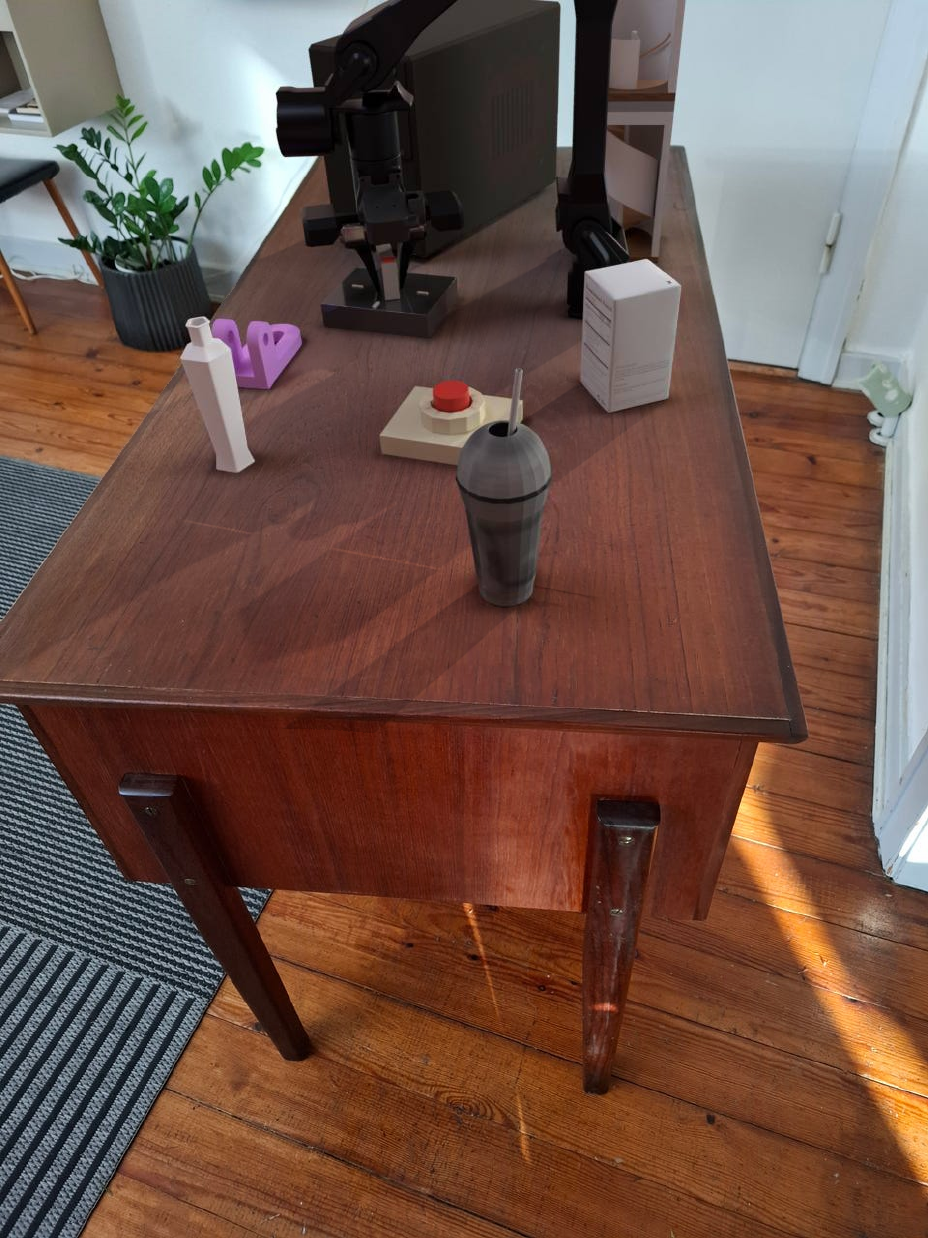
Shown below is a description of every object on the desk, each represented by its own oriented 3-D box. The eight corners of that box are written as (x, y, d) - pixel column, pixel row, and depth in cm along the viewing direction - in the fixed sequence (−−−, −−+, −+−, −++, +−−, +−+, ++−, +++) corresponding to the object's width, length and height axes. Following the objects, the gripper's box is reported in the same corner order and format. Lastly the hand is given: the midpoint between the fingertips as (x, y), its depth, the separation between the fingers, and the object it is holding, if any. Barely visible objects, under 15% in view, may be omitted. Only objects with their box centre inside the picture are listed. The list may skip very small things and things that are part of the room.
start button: (474, 398, 90) (473, 382, 89) (462, 416, 88) (462, 401, 87) (440, 393, 91) (439, 378, 90) (428, 411, 89) (427, 396, 88)
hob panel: (458, 299, 115) (456, 275, 113) (428, 338, 108) (426, 313, 106) (359, 289, 119) (356, 265, 117) (324, 326, 112) (319, 302, 109)
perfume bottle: (266, 452, 92) (232, 312, 81) (245, 476, 89) (207, 334, 78) (227, 446, 93) (189, 307, 82) (205, 469, 90) (163, 329, 79)
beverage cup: (459, 564, 77) (445, 350, 64) (542, 556, 78) (546, 342, 64) (466, 622, 72) (452, 403, 58) (556, 613, 72) (563, 393, 59)
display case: (581, 237, 128) (595, -69, 104) (657, 238, 126) (689, -72, 102) (576, 270, 120) (590, -53, 96) (656, 272, 118) (691, -56, 94)
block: (522, 418, 94) (522, 384, 91) (494, 471, 87) (493, 436, 84) (416, 403, 97) (413, 370, 94) (381, 453, 90) (377, 419, 88)
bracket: (268, 389, 101) (255, 331, 96) (223, 385, 102) (208, 327, 97) (308, 335, 110) (298, 280, 105) (266, 332, 111) (254, 277, 106)
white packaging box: (638, 368, 100) (649, 256, 91) (669, 400, 95) (684, 284, 86) (577, 382, 99) (582, 269, 90) (606, 414, 94) (614, 298, 85)
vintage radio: (466, 164, 153) (459, -12, 136) (564, 183, 144) (570, -3, 127) (318, 239, 132) (287, 42, 115) (422, 266, 123) (406, 57, 106)
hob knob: (379, 280, 113) (375, 242, 110) (393, 278, 113) (389, 241, 110) (385, 300, 109) (381, 262, 106) (400, 298, 109) (396, 260, 106)
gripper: (295, 186, 94) (319, 326, 105) (470, 167, 96) (475, 306, 106) (290, 153, 102) (313, 287, 112) (451, 136, 103) (458, 269, 114)
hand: (389, 288), depth 111 cm, fingers open, 3 cm apart
